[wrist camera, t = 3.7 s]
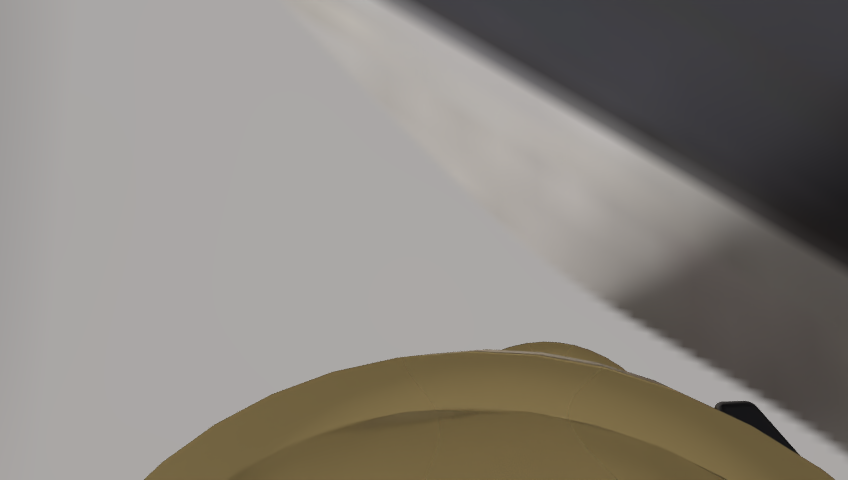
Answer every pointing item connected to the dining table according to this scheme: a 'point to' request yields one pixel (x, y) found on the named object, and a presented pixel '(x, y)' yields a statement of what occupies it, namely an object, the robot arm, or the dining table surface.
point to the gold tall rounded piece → (485, 426)
